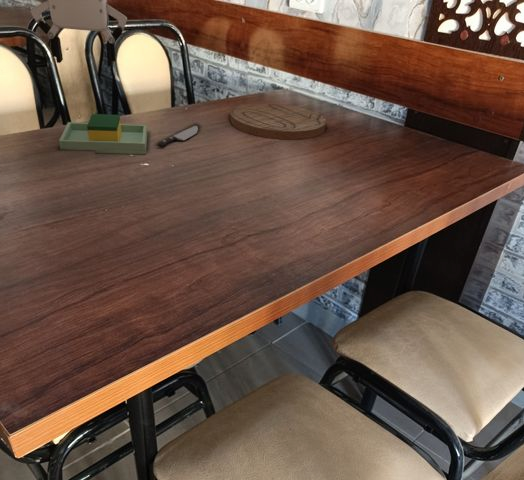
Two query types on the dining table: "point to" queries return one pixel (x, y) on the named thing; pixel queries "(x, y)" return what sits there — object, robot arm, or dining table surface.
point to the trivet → (277, 121)
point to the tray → (129, 142)
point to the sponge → (104, 128)
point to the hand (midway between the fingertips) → (85, 63)
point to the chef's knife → (180, 136)
